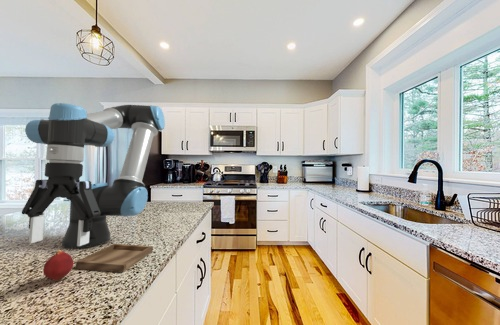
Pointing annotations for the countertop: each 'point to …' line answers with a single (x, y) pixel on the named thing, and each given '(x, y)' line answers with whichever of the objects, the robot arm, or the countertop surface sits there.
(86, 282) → the countertop surface
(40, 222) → the robot arm
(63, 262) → the red fruit
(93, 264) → the tray
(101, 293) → the countertop surface
